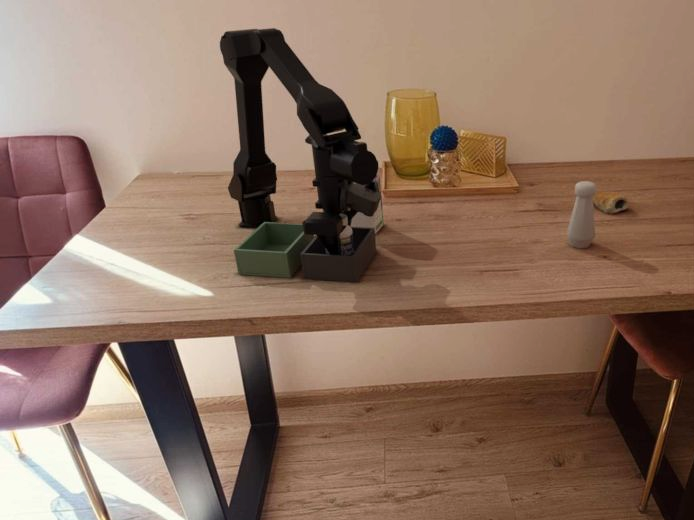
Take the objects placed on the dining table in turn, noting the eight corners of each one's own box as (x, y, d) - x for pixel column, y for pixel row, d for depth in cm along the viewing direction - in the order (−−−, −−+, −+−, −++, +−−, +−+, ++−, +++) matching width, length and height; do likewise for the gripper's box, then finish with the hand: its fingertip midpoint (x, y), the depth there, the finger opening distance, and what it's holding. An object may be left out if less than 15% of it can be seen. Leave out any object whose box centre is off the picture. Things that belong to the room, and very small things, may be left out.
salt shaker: (596, 241, 134) (603, 180, 127) (591, 251, 130) (599, 189, 123) (568, 237, 136) (574, 177, 129) (563, 247, 131) (569, 185, 124)
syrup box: (376, 234, 137) (370, 167, 129) (349, 232, 138) (343, 165, 130) (384, 224, 142) (379, 159, 134) (358, 222, 143) (352, 157, 135)
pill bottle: (346, 272, 121) (340, 223, 116) (322, 267, 123) (315, 219, 118) (360, 261, 126) (356, 213, 120) (337, 256, 127) (331, 209, 122)
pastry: (584, 202, 154) (585, 187, 152) (606, 198, 157) (608, 183, 155) (609, 215, 147) (611, 199, 145) (631, 210, 150) (634, 194, 148)
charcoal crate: (303, 278, 119) (300, 254, 116) (327, 248, 131) (325, 225, 128) (356, 282, 118) (354, 257, 115) (376, 251, 130) (374, 227, 127)
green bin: (238, 274, 121) (233, 249, 118) (268, 244, 132) (264, 221, 130) (290, 277, 119) (286, 253, 117) (315, 247, 131) (312, 224, 129)
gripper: (360, 191, 106) (368, 276, 114) (387, 159, 121) (392, 236, 130) (296, 187, 107) (308, 272, 116) (331, 156, 123) (339, 233, 131)
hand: (340, 252), depth 123 cm, fingers closed on pill bottle, 5 cm apart
